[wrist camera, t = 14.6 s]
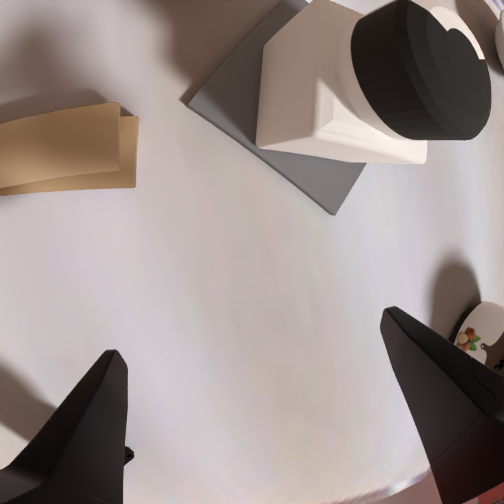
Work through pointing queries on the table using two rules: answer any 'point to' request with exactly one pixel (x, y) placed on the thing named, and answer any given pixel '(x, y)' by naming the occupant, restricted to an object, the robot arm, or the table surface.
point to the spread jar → (482, 334)
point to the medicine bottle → (372, 82)
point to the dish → (500, 38)
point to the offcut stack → (69, 150)
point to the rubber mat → (246, 114)
